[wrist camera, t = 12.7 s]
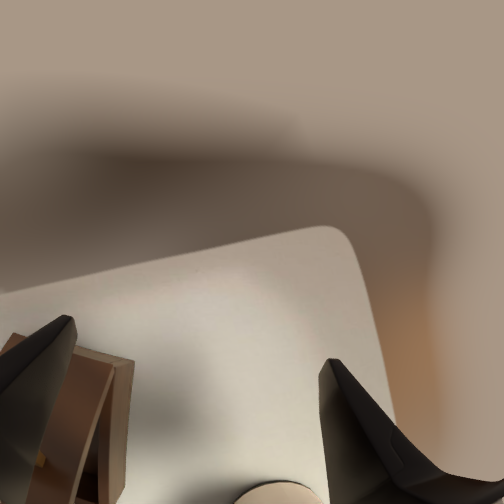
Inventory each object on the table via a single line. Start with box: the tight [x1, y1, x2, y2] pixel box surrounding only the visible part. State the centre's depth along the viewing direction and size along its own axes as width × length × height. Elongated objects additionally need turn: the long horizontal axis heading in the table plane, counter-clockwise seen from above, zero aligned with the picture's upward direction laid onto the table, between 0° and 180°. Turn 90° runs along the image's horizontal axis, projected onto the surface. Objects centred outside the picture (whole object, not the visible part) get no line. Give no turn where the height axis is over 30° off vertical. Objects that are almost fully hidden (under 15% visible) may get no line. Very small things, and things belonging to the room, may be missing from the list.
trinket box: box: [73, 345, 135, 504], centre depth 17 cm, size 12×8×5 cm, turn 172°
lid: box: [0, 332, 115, 504], centre depth 9 cm, size 12×8×5 cm
